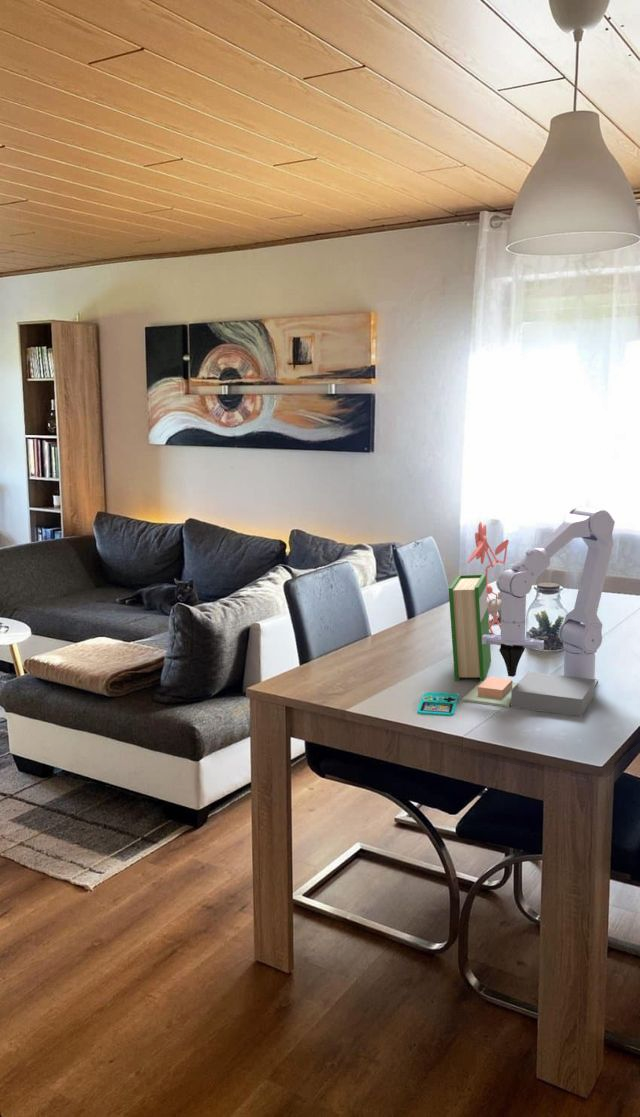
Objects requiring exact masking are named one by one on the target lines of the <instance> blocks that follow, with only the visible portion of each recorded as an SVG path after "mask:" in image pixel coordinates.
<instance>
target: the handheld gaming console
mask: <svg viewBox="0 0 640 1117" xmlns="http://www.w3.org/2000/svg"><path fill="white" fill-rule="evenodd" d="M458 701H459V694H458V693H455V692H454V693H452V692H438V691H437V692H436V691H428V692H425V693H423V694H422V697H421V699H420V702H419V704H418V707H417V710H416V713H417V714H419V715H428V714H429V715H431V716H442V715H443V716H447V717H450V716H451V717H452V716H454V715H455V712H456V708H457V704H458ZM425 705H426V707H430V708H431V709H429V710H428V709H424V708H425ZM436 707H437V708H436ZM438 707H439V708H440V709H447V708H448V707H449V709H448V711H446V710H445V711H444V710H443V711H442V710H439V708H438Z"/></svg>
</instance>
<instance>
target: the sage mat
mask: <svg viewBox="0 0 640 1117" xmlns="http://www.w3.org/2000/svg"><path fill="white" fill-rule="evenodd" d="M486 679H487V678H485V680H486ZM485 680H484V681H485ZM484 681H481V680H480V681H479V683H477V684H476V685H474V687H473V688H472V689H471V690H470V691H469V692H468V693H467V694H466V695H465V696H464V697H463V698H462V702H469V703H474V704H475V703H477V704H483V705H491V706H495V707H496V706H497V707H505V708H509V707H511V690H512V689H513V688H514V687H515V686H516V685H517V683H518V682H512V688H511V689H510V691H509V692H508V693H507V694H506V695H505V696H504V697H503V698H497V697H489V696H482V695H478V686H479V685H480V684H482V683H483V682H484Z"/></svg>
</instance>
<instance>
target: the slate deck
mask: <svg viewBox="0 0 640 1117" xmlns="http://www.w3.org/2000/svg"><path fill="white" fill-rule="evenodd" d="M516 683H517V685H516V686H515V687H514V688H513V689H512V690H511V705H510V707H512V708H518V709H523V710H530V711H532V710H533V711H540V712H546V713H547V712H548V713H554V714H560V715H567V716H575V717H581V716H582V717H583V715H584V713H585V712H586V710H587V708H588V707H589V705H590V703H591V702H592V701H593V699H594V697H595V686H596V685H595V679H587V678H579V677H570V676H564V675H560V674H552V673H544V672H535V671H527V672H526V673H525V674H524V675H523V677H522V678H521V679H520V680H519V681H518V682H516Z"/></svg>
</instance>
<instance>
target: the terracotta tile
mask: <svg viewBox="0 0 640 1117" xmlns="http://www.w3.org/2000/svg"><path fill="white" fill-rule="evenodd" d="M485 679H486V680H485V681H484V682H483V683H482V684H480V685H479V686H478V695H482V696H489V697H497V698H503V697H504V696H505V695H506V694H507V693H508V692H509V691H510V689H511V688H512V683H513V679H512V678H511V679H509V678H501V677H495V676H488V677H487V678H485Z"/></svg>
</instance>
